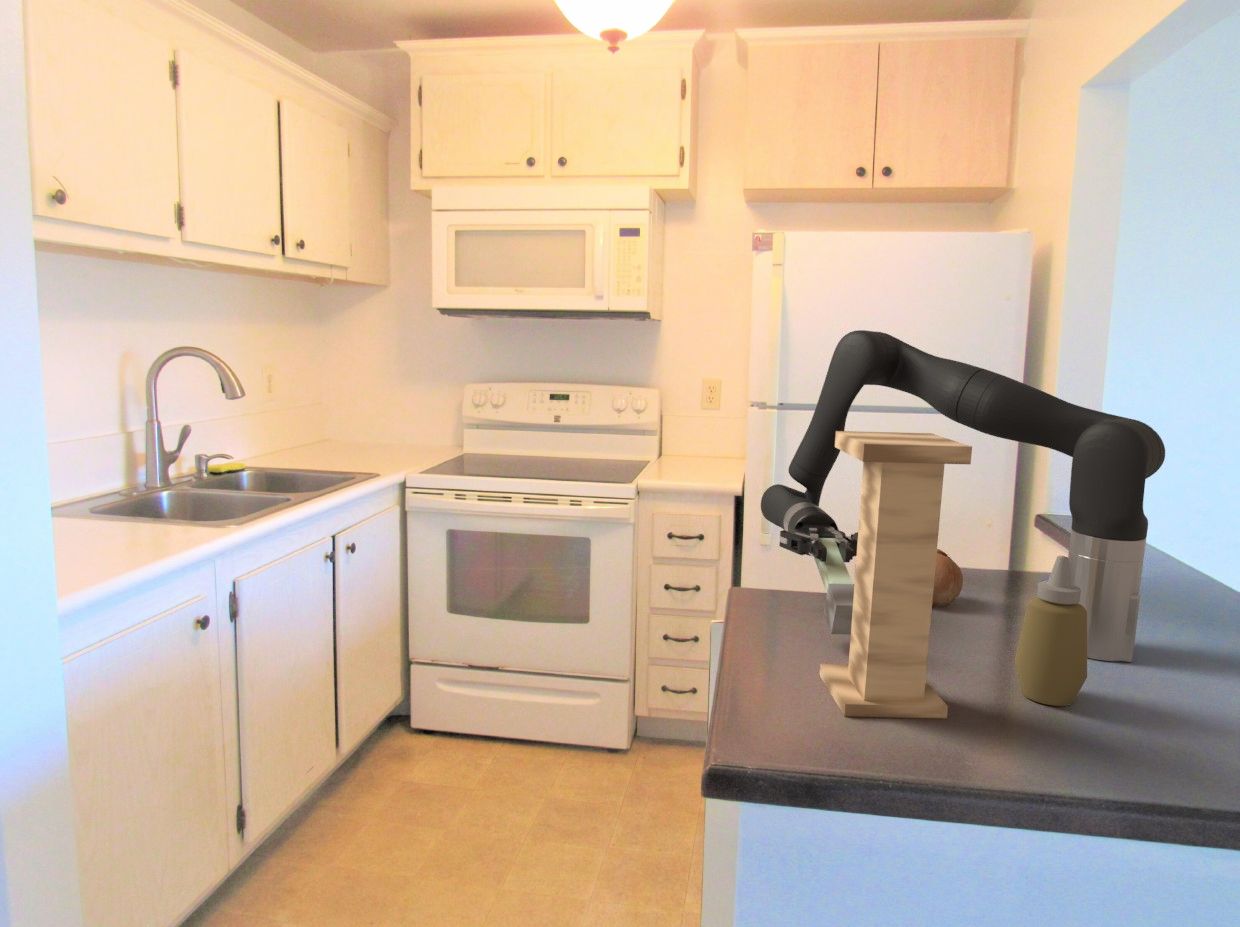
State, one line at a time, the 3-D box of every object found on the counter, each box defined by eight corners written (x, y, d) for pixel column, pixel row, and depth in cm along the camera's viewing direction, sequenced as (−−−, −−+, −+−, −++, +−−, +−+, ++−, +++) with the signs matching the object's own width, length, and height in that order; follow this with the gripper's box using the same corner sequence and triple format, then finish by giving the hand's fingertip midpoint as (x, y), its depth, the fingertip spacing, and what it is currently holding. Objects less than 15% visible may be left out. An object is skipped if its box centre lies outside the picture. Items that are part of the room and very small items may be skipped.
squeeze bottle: (1081, 717, 99) (1098, 570, 97) (1006, 700, 104) (1021, 558, 101) (1086, 693, 106) (1102, 555, 103) (1016, 678, 110) (1030, 545, 108)
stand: (819, 674, 110) (835, 430, 105) (910, 676, 110) (931, 433, 105) (844, 716, 98) (864, 443, 93) (946, 718, 98) (972, 446, 93)
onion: (929, 613, 145) (941, 558, 147) (969, 616, 136) (981, 557, 138) (885, 597, 142) (897, 540, 144) (923, 599, 133) (935, 538, 136)
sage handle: (805, 558, 134) (809, 532, 132) (836, 559, 134) (841, 533, 132) (831, 634, 117) (836, 605, 115) (866, 634, 118) (873, 606, 115)
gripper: (769, 505, 142) (790, 529, 124) (852, 507, 142) (885, 532, 125) (766, 548, 143) (787, 578, 126) (849, 550, 143) (881, 581, 126)
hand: (836, 555), depth 125 cm, fingers closed on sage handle, 3 cm apart
